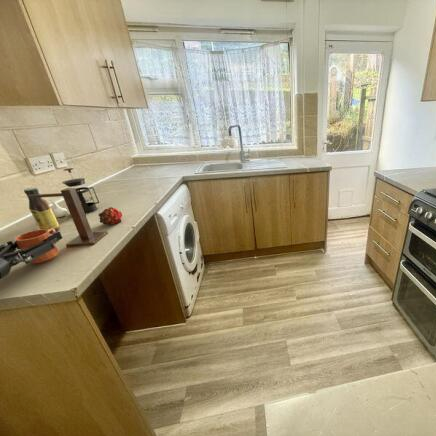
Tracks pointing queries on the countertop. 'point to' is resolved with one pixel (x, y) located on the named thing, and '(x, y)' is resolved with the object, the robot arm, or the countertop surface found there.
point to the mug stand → (76, 218)
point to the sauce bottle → (41, 211)
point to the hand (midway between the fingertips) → (46, 235)
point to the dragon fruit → (110, 216)
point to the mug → (36, 242)
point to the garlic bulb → (58, 210)
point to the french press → (80, 181)
